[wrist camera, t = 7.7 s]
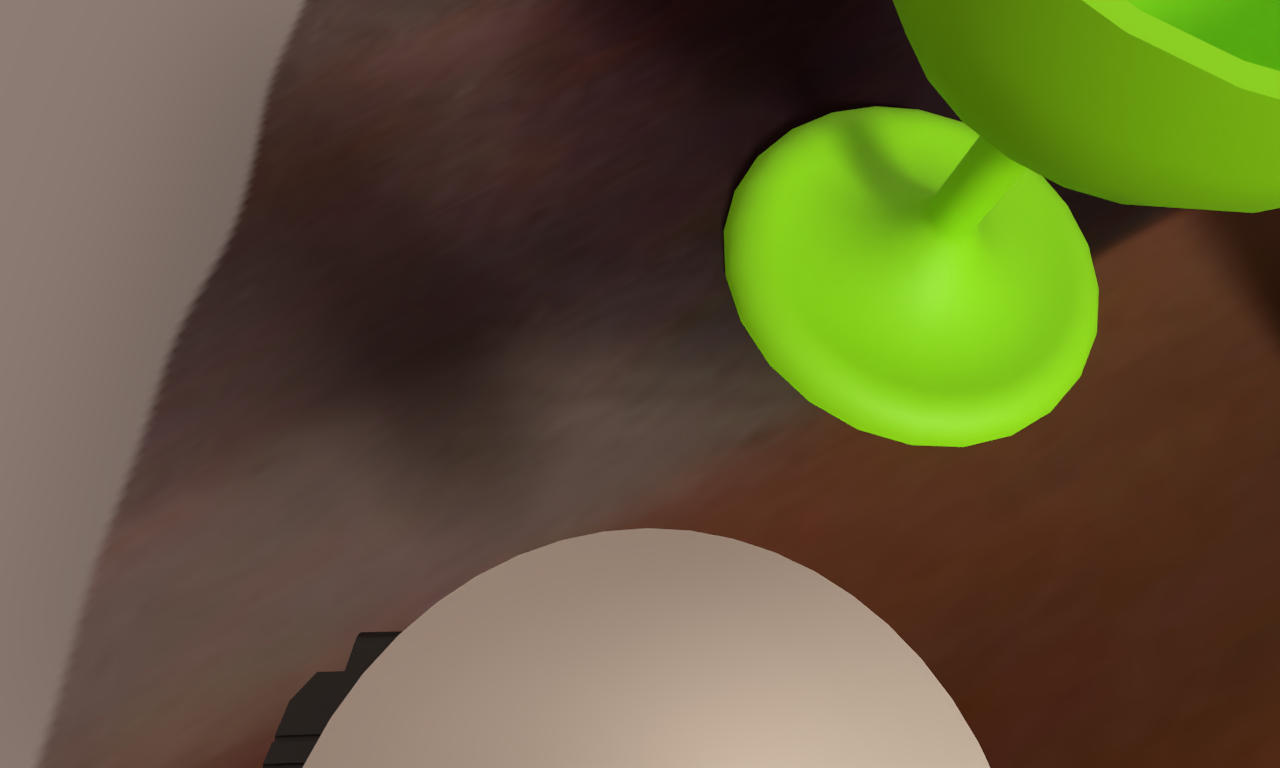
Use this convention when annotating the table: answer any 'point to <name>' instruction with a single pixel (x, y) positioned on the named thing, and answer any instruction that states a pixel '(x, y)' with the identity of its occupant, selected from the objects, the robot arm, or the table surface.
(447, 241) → the table surface
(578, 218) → the table surface
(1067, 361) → the wineglass
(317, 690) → the robot arm
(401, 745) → the cream domed container
